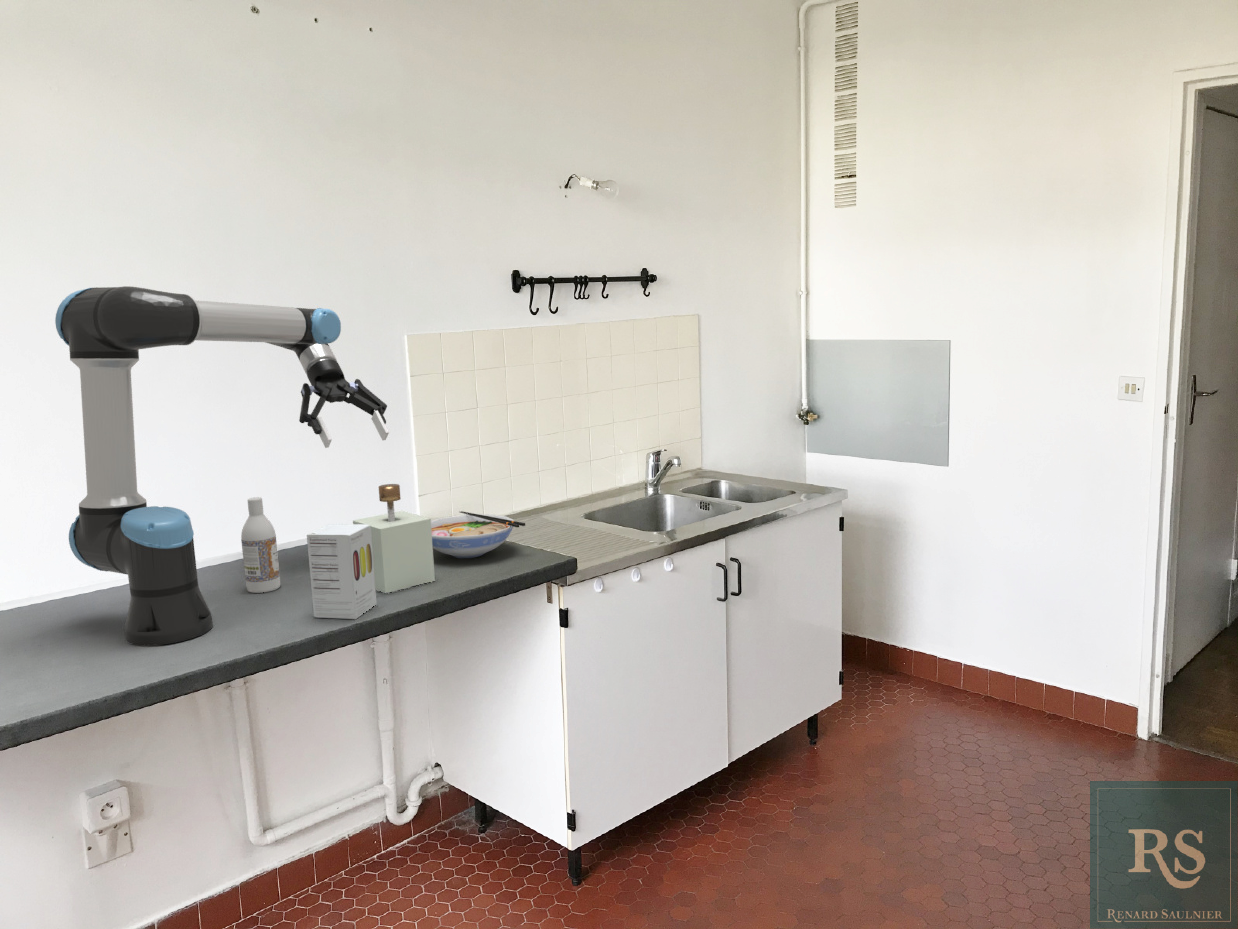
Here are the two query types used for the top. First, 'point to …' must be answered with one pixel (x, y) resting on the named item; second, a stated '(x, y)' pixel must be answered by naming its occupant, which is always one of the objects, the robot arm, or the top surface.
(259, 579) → the bath foam
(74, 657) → the top surface
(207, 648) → the top surface
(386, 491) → the plunger
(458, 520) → the ramen bowl
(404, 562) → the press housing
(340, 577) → the supplement box
